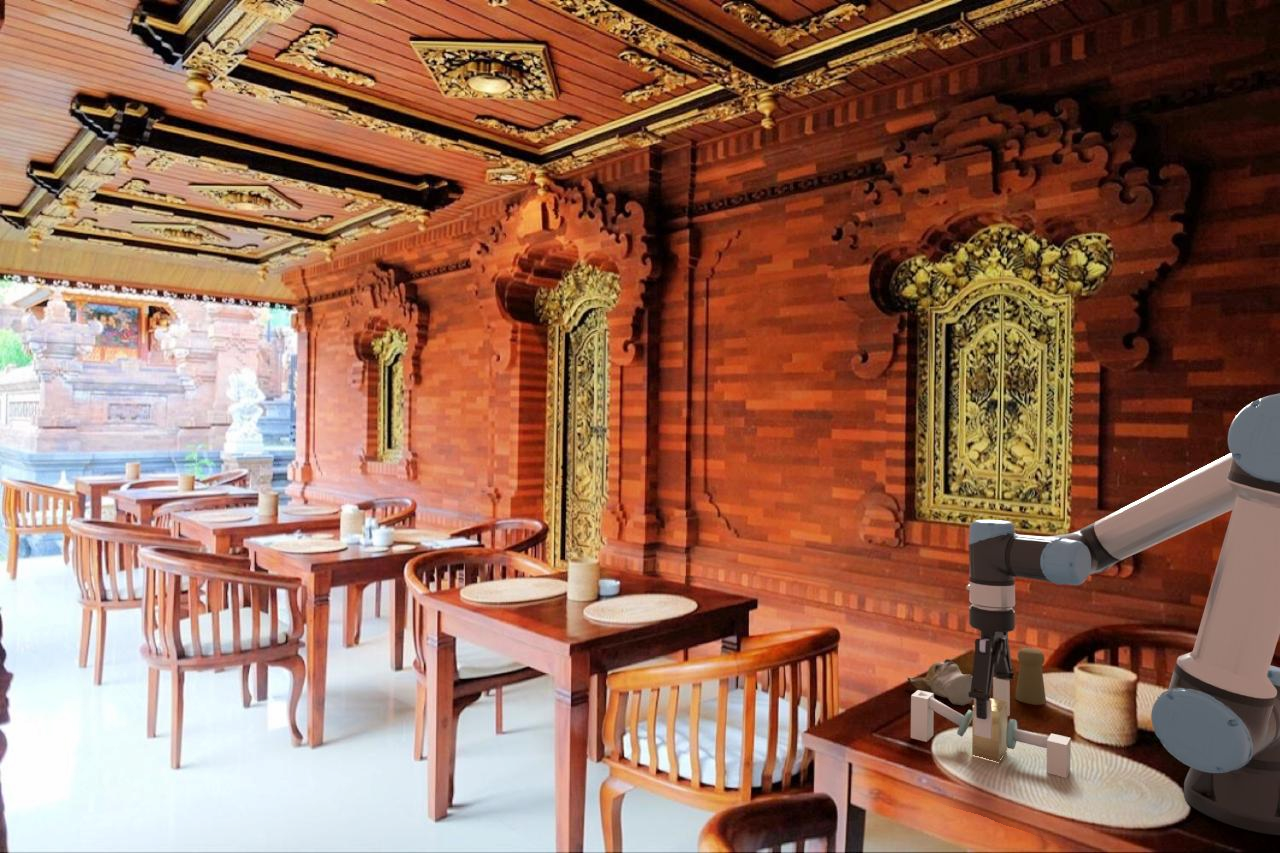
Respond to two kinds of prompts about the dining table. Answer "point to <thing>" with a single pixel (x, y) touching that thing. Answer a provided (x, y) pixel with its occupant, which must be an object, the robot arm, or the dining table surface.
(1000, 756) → the tan rectangular block
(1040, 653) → the olive pepper shaker
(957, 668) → the ceramic sculpture
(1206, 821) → the dining table surface
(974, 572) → the robot arm
